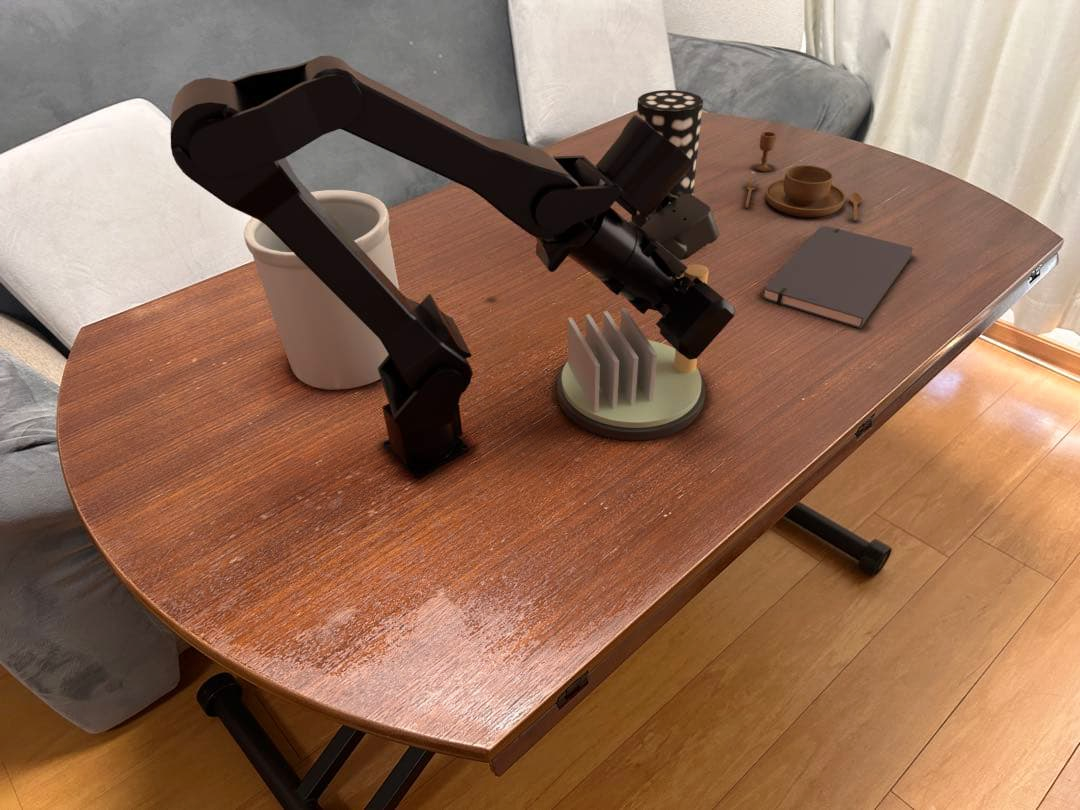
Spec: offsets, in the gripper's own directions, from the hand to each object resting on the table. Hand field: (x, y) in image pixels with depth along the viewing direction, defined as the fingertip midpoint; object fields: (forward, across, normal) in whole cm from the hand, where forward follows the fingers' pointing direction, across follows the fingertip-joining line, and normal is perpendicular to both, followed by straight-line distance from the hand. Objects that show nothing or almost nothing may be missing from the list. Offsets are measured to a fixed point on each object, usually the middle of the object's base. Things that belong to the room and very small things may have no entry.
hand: (703, 321), depth 80 cm
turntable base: (0, +1, +11) cm, 11 cm away
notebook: (+26, +11, -14) cm, 32 cm away
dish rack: (-1, +1, +10) cm, 10 cm away
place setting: (+35, +35, -24) cm, 54 cm away
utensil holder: (-20, +21, +30) cm, 41 cm away
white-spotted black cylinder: (+14, +30, -3) cm, 33 cm away
